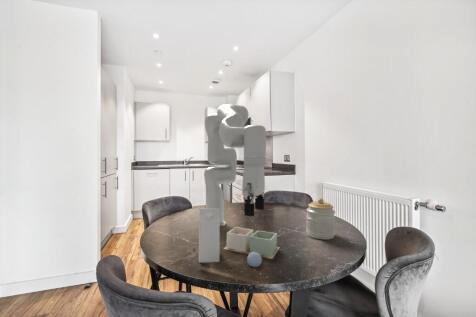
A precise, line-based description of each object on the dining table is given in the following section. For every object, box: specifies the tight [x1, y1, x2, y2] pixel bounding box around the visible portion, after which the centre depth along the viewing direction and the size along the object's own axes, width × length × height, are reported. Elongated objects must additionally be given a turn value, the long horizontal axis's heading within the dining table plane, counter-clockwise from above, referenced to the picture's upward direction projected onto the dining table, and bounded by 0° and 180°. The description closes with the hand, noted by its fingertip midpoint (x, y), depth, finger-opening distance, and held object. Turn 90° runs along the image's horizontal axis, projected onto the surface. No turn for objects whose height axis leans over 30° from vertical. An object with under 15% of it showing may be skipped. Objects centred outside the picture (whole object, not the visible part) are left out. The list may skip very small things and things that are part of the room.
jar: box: [305, 198, 336, 241], centre depth 108 cm, size 13×13×18 cm
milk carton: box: [198, 207, 221, 266], centre depth 81 cm, size 7×7×19 cm
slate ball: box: [246, 252, 263, 268], centre depth 77 cm, size 5×5×5 cm
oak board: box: [222, 245, 281, 260], centre depth 90 cm, size 20×11×1 cm, turn 65°
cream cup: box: [226, 226, 254, 252], centre depth 92 cm, size 8×8×6 cm
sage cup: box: [250, 230, 278, 257], centre depth 88 cm, size 8×8×6 cm
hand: (254, 212), depth 77 cm, fingers open, 9 cm apart
